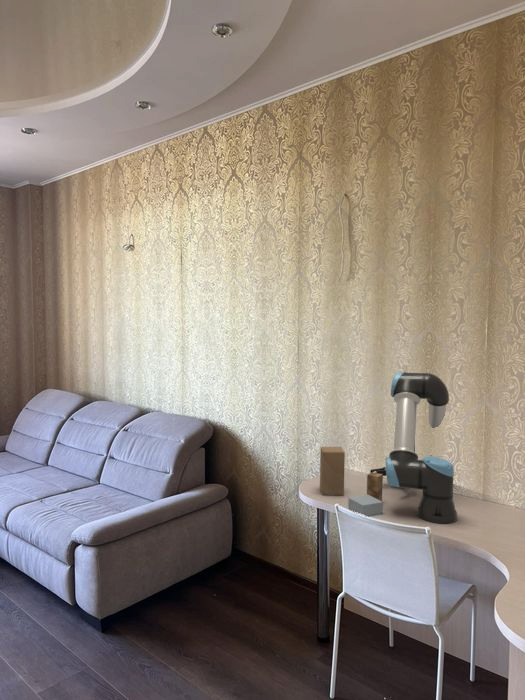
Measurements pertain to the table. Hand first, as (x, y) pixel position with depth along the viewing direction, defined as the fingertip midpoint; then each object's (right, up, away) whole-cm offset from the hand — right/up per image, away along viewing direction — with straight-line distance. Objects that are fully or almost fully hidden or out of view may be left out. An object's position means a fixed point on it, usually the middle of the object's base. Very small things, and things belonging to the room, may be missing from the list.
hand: (383, 480), depth 229 cm
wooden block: (-23, -7, +5) cm, 25 cm away
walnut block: (-6, -7, -8) cm, 12 cm away
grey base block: (-12, -8, -19) cm, 24 cm away
